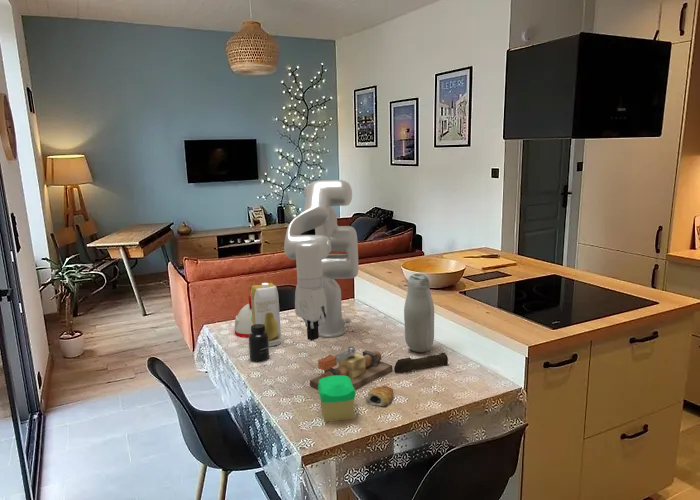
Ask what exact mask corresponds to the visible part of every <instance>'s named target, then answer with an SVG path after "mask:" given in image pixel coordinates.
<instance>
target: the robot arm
mask: <svg viewBox="0 0 700 500" xmlns="http://www.w3.org/2000/svg"><path fill="white" fill-rule="evenodd" d="M303 193H304V197H305V201H304V207H303V210H302V212H300V213H299V214H297V215H296V216H295V217H294V218H293V219H292V220H291V221H290V222H289V224H288V226H287V229H286V232H285V237H284V243H283V244H284V245H283V249H284V254H285V256H286V257H287V258H288V259H290V260H295V261H296V262H295V263H296V279H297V280H296V281H297V284H296V286H295V293H294V311H295V315H296V316H298V318H301V319H302V320H303V321H304V326H305V327H306V334H307V337H306V338H307V341H308V340H309V341H311V342H312V341H314V340H317V339H319V338H321V337H322V338H337V337H341V336H343V335H345V334H346V333H347V328H346V327H345V325H346V324H348V323H349V324H350V322H351V318H350V317H347V318H346V317H345V318H343V314H342V313H343V310H342V309H343V308H342V290H341V287H340V285H339V283H338V281H336V280H337V279H339V280H341V279H342V280H344V279H354V278H357V276H358V274H359V251H358V250H359V249H358V246H359V245H358V244H359V243H358V235H357V231H356V229H355V227H354V226H350V225H344V226H343V225H341V226H340V225H338V215H337V211H336V210H335V209H334V207H340V206H341V207H344V206H345V207H347V206H349V205H350V204H351V202H352V199H353V190H352V186H351V184H350V183H349V182H347V181H346V180H342V179H330V180H329V179H327V180H326V179H323V180H321V179H320V180H314V181H312V182H310V183H309V184H307V185H306V186H305V187H304V189H303ZM311 230H314V232H315V234H303V233H306V232H308V231H311ZM331 252H344V253H331ZM335 279H336V280H335Z"/></svg>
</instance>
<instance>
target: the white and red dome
mask: <svg viewBox="0 0 700 500" xmlns="http://www.w3.org/2000/svg"><path fill="white" fill-rule="evenodd" d="M252 325H253V320H252V306H251V295H248V303H247V304H245V305H244V306H243V307H242V308H241V309H240V310H239V312H238V314H237V315H235V319H234V335H235V336H236V337H238V338H242V337H243V338H242V339H244V338H245V339H249V335H250V334H251V333H252V332H251V326H252Z"/></svg>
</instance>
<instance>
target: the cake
mask: <svg viewBox="0 0 700 500" xmlns="http://www.w3.org/2000/svg"><path fill="white" fill-rule="evenodd" d="M317 392H318V395H319V400H320V401H319V402H320V409H321V413H322V417H323V421H324V422H332V421H340V420H342V421H343V420H349V419H350V420H351V419H355V398H356V390H355V389H354V387H353V385H352V383H351V380H350V378H349V377H348V376H344V375H334V376H328V377H324V378H321V379H320V380H319V384H318V390H317Z"/></svg>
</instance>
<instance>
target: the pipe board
mask: <svg viewBox="0 0 700 500" xmlns="http://www.w3.org/2000/svg"><path fill="white" fill-rule="evenodd" d="M381 360H382V353H381V352H380V351H378V350H374V351H370V350H367V349H365V350H363V351H362V355H361V354H359V353H356V352H355V354H354V357H348V358H346V359H343V360H341V361H339V362H337V363H338V364H337V366H338V367H337V366H336V367H335V368H334V367H332V368H330V369H328V370H326V371H324V370H323V371H324V373H321V375H319V376H317V377H314V378H312V379H309V387H310V388H312V389H315V390H316V391H318V384H319V380H320V379H321V378H324V377H328V376H334V375H344V376H348V377H349V378H350V380H351V383H352V385H353V387H354V389H355V391H356V390H357V389H359V388H361V387H364V386H366V385H367V384H370V383H372V382H373V381H375V380H378V379H379V378H383V376H386V375H388V374H390V373H392V372H393V365H392V364H389V363H387V362H383V361H381Z"/></svg>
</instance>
